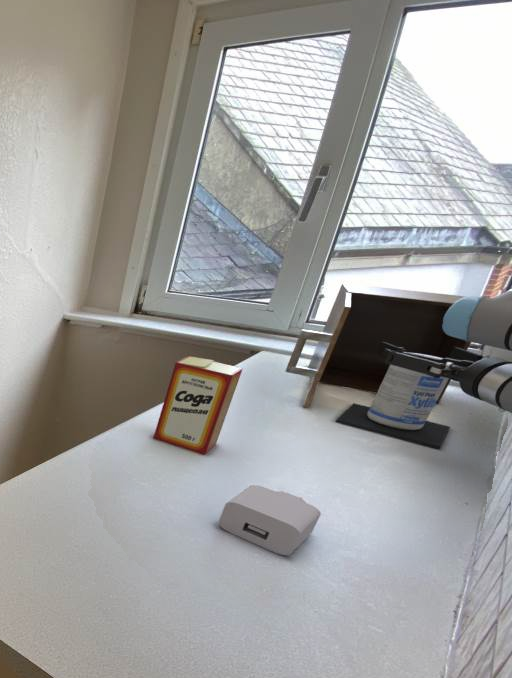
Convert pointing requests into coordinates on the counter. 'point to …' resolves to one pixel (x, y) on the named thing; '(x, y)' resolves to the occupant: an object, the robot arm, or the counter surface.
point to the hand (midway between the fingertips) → (416, 350)
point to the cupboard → (384, 333)
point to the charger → (269, 518)
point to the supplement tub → (406, 398)
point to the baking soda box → (196, 403)
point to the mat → (425, 436)
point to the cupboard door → (325, 354)
